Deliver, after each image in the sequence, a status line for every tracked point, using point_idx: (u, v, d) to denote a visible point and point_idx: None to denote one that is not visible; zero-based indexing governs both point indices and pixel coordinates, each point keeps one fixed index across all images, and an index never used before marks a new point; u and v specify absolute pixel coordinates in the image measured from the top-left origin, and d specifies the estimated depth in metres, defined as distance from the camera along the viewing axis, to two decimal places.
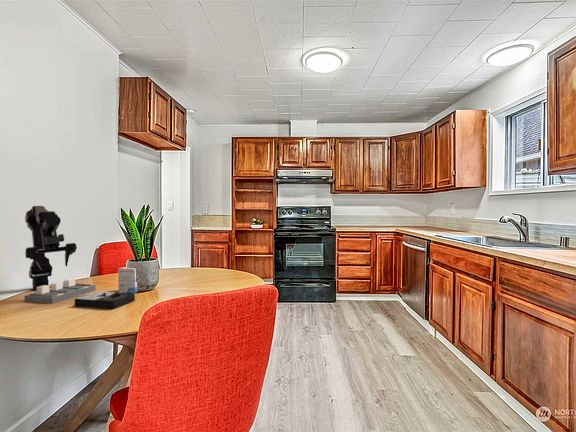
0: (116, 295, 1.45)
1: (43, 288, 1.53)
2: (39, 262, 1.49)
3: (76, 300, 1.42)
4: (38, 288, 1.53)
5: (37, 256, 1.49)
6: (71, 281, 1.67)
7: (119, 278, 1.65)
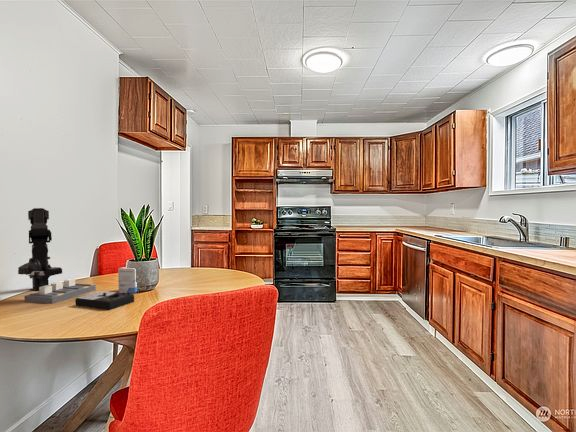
0: (115, 295, 1.45)
1: (45, 289, 1.52)
2: (37, 283, 1.54)
3: (77, 299, 1.44)
4: (41, 288, 1.52)
5: (34, 278, 1.53)
6: (71, 281, 1.67)
7: (119, 278, 1.65)
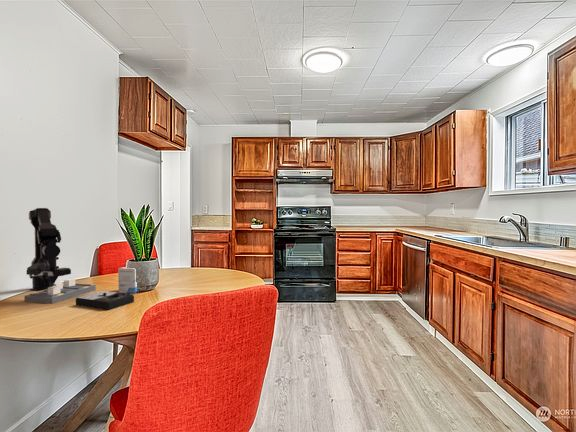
0: (114, 296, 1.45)
1: (54, 289, 1.51)
2: (45, 284, 1.53)
3: (77, 299, 1.44)
4: (49, 289, 1.51)
5: (43, 278, 1.52)
6: (71, 281, 1.67)
7: (119, 278, 1.65)
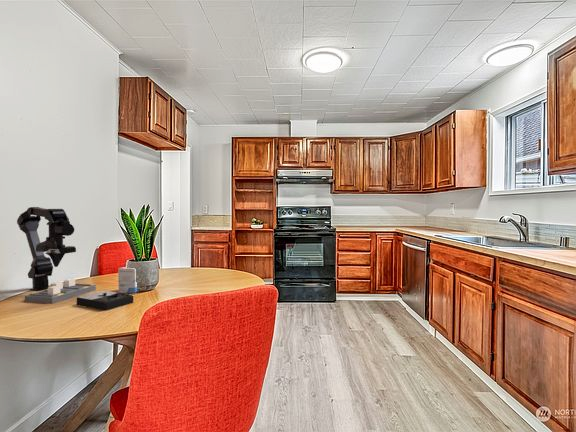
0: (113, 296, 1.44)
1: (54, 289, 1.51)
2: (52, 260, 1.66)
3: (77, 299, 1.45)
4: (49, 289, 1.51)
5: (50, 255, 1.65)
6: (71, 281, 1.67)
7: (119, 278, 1.65)
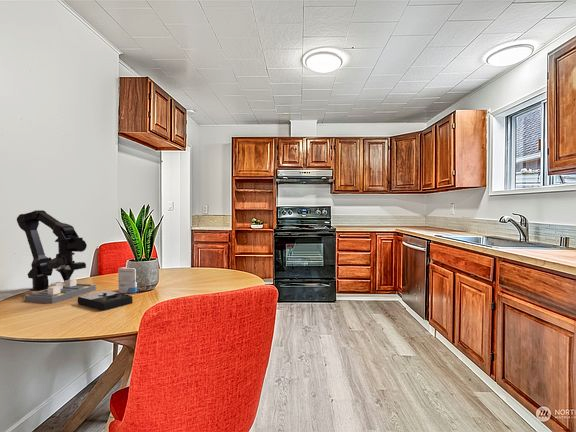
0: (112, 296, 1.44)
1: (54, 289, 1.51)
2: (63, 277, 1.67)
3: (78, 298, 1.45)
4: (49, 289, 1.51)
5: (60, 272, 1.67)
6: (72, 281, 1.67)
7: (119, 278, 1.65)
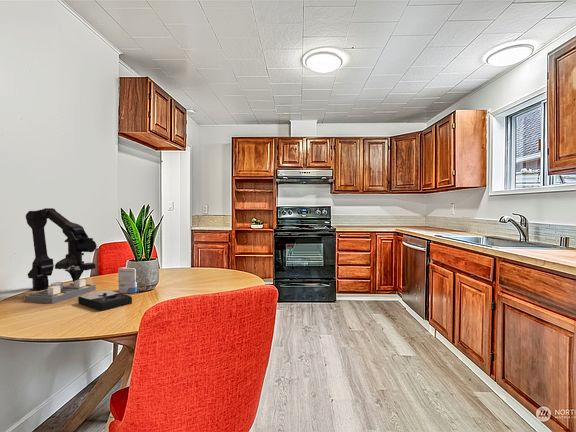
0: (112, 296, 1.43)
1: (54, 289, 1.51)
2: (72, 277, 1.66)
3: (79, 298, 1.46)
4: (49, 289, 1.51)
5: (70, 272, 1.66)
6: (81, 282, 1.66)
7: (119, 278, 1.65)
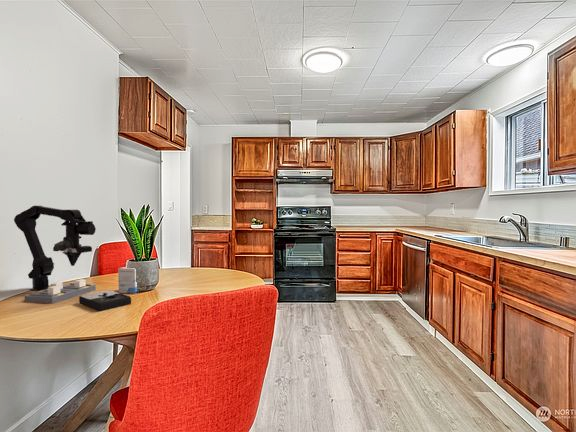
0: (111, 296, 1.43)
1: (54, 289, 1.51)
2: (69, 260, 1.71)
3: (80, 297, 1.46)
4: (49, 289, 1.51)
5: (67, 255, 1.70)
6: (81, 282, 1.66)
7: (119, 278, 1.65)
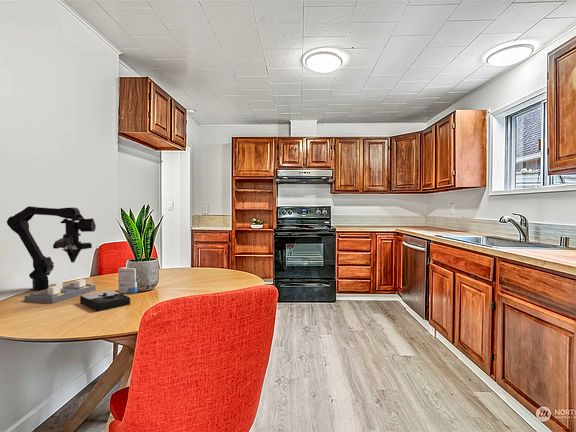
0: (110, 297, 1.43)
1: (54, 289, 1.51)
2: (69, 256, 1.75)
3: (80, 297, 1.47)
4: (49, 289, 1.51)
5: (67, 252, 1.74)
6: (81, 282, 1.66)
7: (119, 278, 1.65)
